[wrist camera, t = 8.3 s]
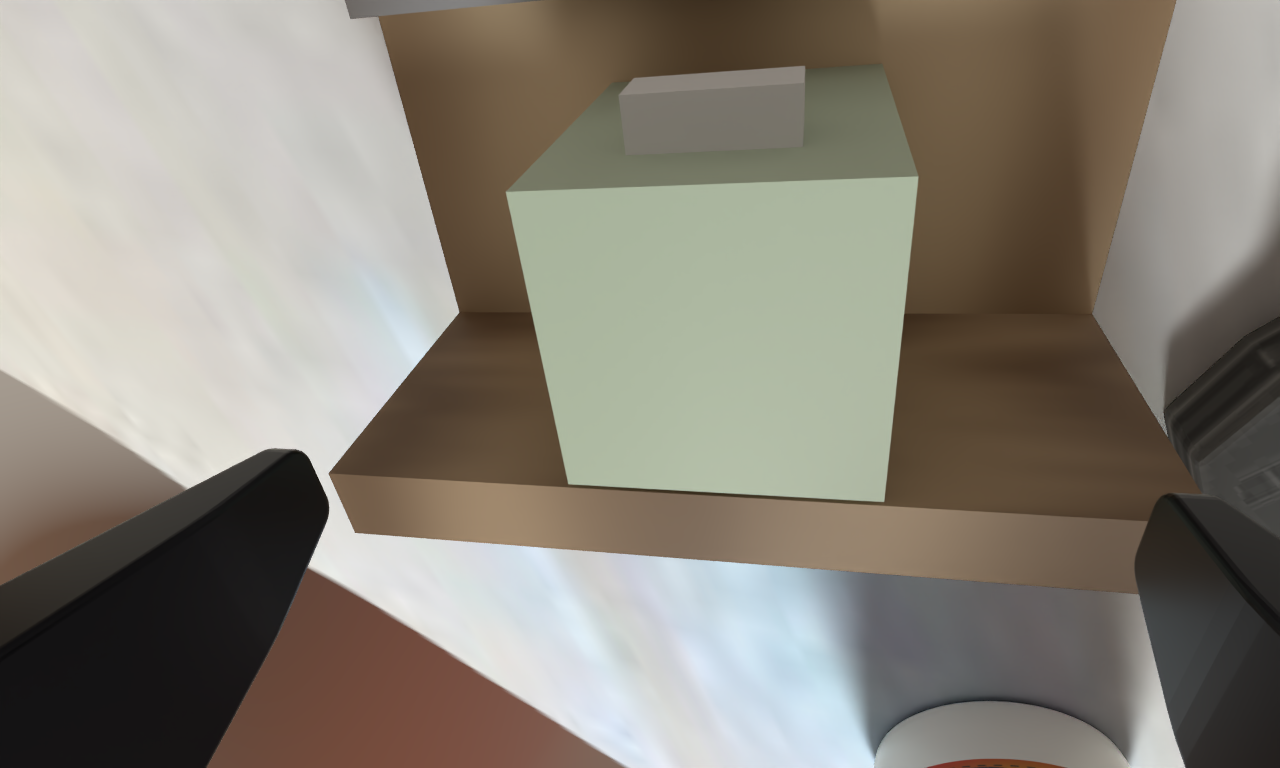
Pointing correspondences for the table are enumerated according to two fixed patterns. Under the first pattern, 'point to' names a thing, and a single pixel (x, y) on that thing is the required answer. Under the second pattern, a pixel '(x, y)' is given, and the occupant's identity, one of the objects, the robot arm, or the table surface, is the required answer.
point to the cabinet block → (724, 281)
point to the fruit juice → (996, 739)
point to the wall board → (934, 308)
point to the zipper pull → (1235, 427)
